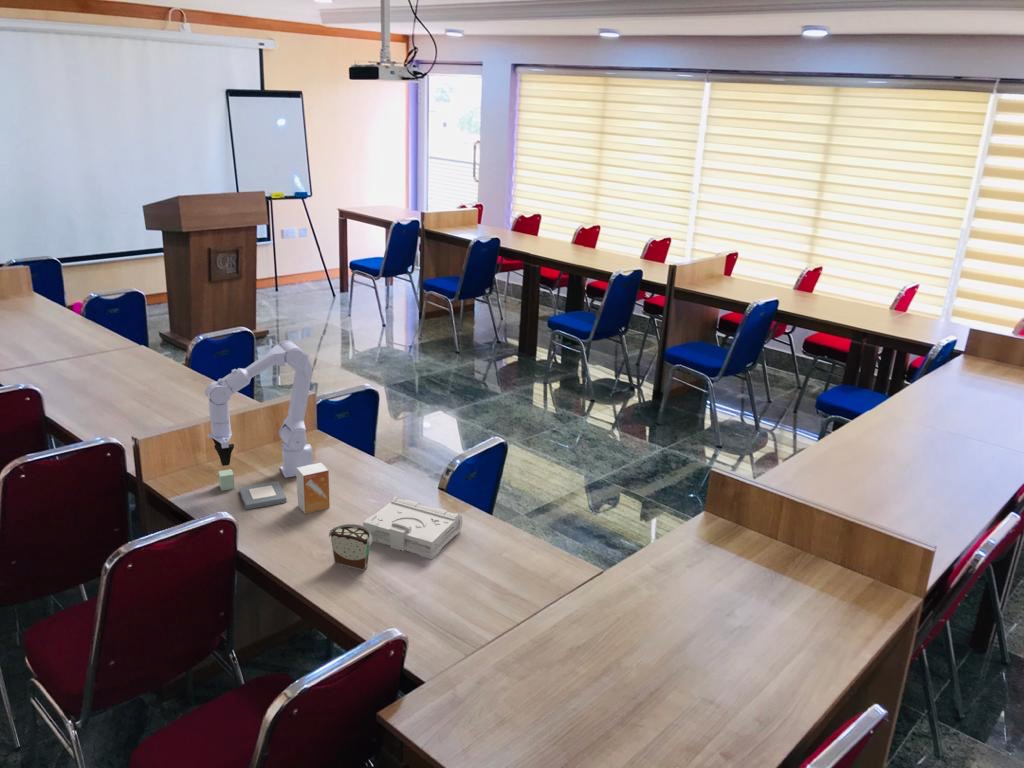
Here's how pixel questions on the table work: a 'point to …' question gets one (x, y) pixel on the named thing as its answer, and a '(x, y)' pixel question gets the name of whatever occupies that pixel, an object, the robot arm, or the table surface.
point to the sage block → (226, 479)
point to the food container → (351, 545)
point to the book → (413, 527)
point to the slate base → (262, 495)
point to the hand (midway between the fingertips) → (223, 460)
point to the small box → (313, 487)
